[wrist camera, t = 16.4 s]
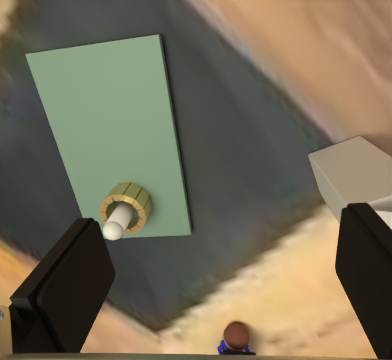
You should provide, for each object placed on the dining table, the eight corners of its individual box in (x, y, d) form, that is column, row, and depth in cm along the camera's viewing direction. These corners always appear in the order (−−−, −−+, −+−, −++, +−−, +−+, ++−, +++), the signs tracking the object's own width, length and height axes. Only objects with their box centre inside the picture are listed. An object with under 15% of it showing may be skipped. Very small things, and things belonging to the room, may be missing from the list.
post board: (32, 53, 38) (-32, 56, 28) (161, 34, 35) (138, 31, 26) (94, 234, 50) (64, 277, 41) (191, 229, 48) (183, 274, 38)
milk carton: (319, 193, 43) (383, 292, 26) (307, 153, 40) (368, 233, 23) (369, 177, 41) (472, 272, 24) (359, 134, 38) (467, 206, 21)
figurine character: (244, 357, 64) (254, 320, 56) (246, 396, 58) (257, 361, 49) (215, 353, 65) (220, 316, 56) (213, 392, 58) (219, 356, 50)
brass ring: (104, 183, 44) (93, 196, 40) (147, 180, 43) (140, 193, 39) (115, 220, 47) (106, 235, 43) (155, 218, 46) (149, 233, 42)
